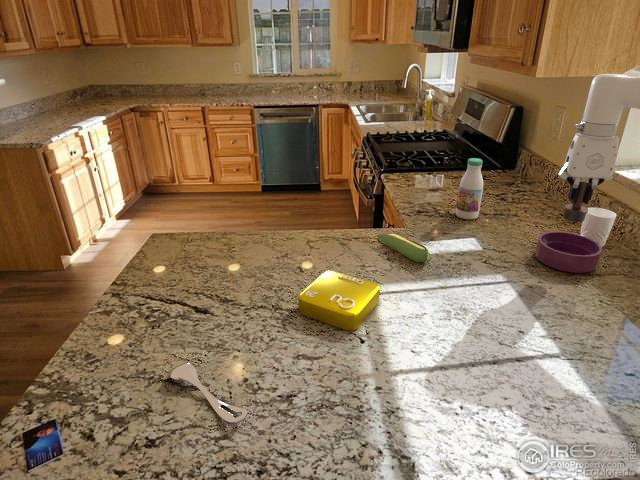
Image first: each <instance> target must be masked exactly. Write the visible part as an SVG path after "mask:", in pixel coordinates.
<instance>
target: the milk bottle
mask: <svg viewBox="0 0 640 480" xmlns="http://www.w3.org/2000/svg"><path fill="white" fill-rule="evenodd" d="M483 163H484V162H483V160H482V158H478V157H477V158H476V157H471V158H468V160H467V168H466V171H465V172H464V174H463V176H462V177H461V179H460V182H459V187H458V191H457V192H458V193H457V199H456V207H455V215H456V217H457V218H460V219H463V220H476V219H478V217H479V216H480V209H481V204H482V198H483V192H484V179H483V175H482V167H483Z"/></svg>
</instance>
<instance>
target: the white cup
mask: <svg viewBox="0 0 640 480" xmlns="http://www.w3.org/2000/svg"><path fill="white" fill-rule="evenodd" d="M587 208H588V212H587V213H586V217H585V220H584V221H583V222H581V227H580V232H579V233H580V234H579V235H582V236H585V237H587V238H590V239H592V240H594V241H595V242H597V243H598V244H599V245H600V246H601V247H602V248H603V247H605V245H606V243H607V240H608V238H609V236H610V233H611V231H612V229H613V226H614V224H615V221H616V219H617V213H616V212H614V211H612V210H611V209H610V210H609V209H606V208H602V207H587Z"/></svg>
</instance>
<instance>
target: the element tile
mask: <svg viewBox="0 0 640 480" xmlns="http://www.w3.org/2000/svg"><path fill="white" fill-rule="evenodd" d="M380 291H381V286H380V285H379V284H378V283H376V282H373V281H370V280H367V279H363V278H360V277H357V276H353V275H349V274H346V273H342V272H339V271H336V270H327V271H324V272H323V273H322V274H321V275H320V276H318V277H317V278H316V279H314V281H313V282H311V283H310V284H309V285H308V286H307V287H306V288H305V289H304V290H303V291H302V292H300V293H299V295H298V311H299V313H300V314H301V315H303V316H305V317H308V318H311V319H314V320H317V321H318V322H322V323H325V324H327V325H331V326H334V327H336V328H338V329H342V330H344V331H350V332H351V331H352V332H353V331H355V330H357V329H358V328H360V326H361V325H362V324H363V323H364V321H365V320H366V319H367V317H368V316H369V315H371V314H372V311H374V309H375V308H376V306H377V305H378V304H379V302H380Z"/></svg>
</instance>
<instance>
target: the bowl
mask: <svg viewBox="0 0 640 480" xmlns="http://www.w3.org/2000/svg"><path fill="white" fill-rule="evenodd" d="M602 254H603V247H601V246H600V245H599V244H598V243H597V242H595V241H594V240H592V239H590V238H587V237H585V236H582V235H580V234H579V233H578V234H577V233H574V232H568V231H560V230H559V231H556V230H554V231H546V232H542V233H541V234H540V235H538V238H537V241H536V246H535V250H534V257H536V259H537V260H538V261H539V262H541V264H543V265H545V266H548V267H550V268H554V269H555V270H559V271H563V272H568V273H576V274H584V273H590V272H592V271H595V270H596V269H597V268H598V266H599V263H600V260H601V256H602Z"/></svg>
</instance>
